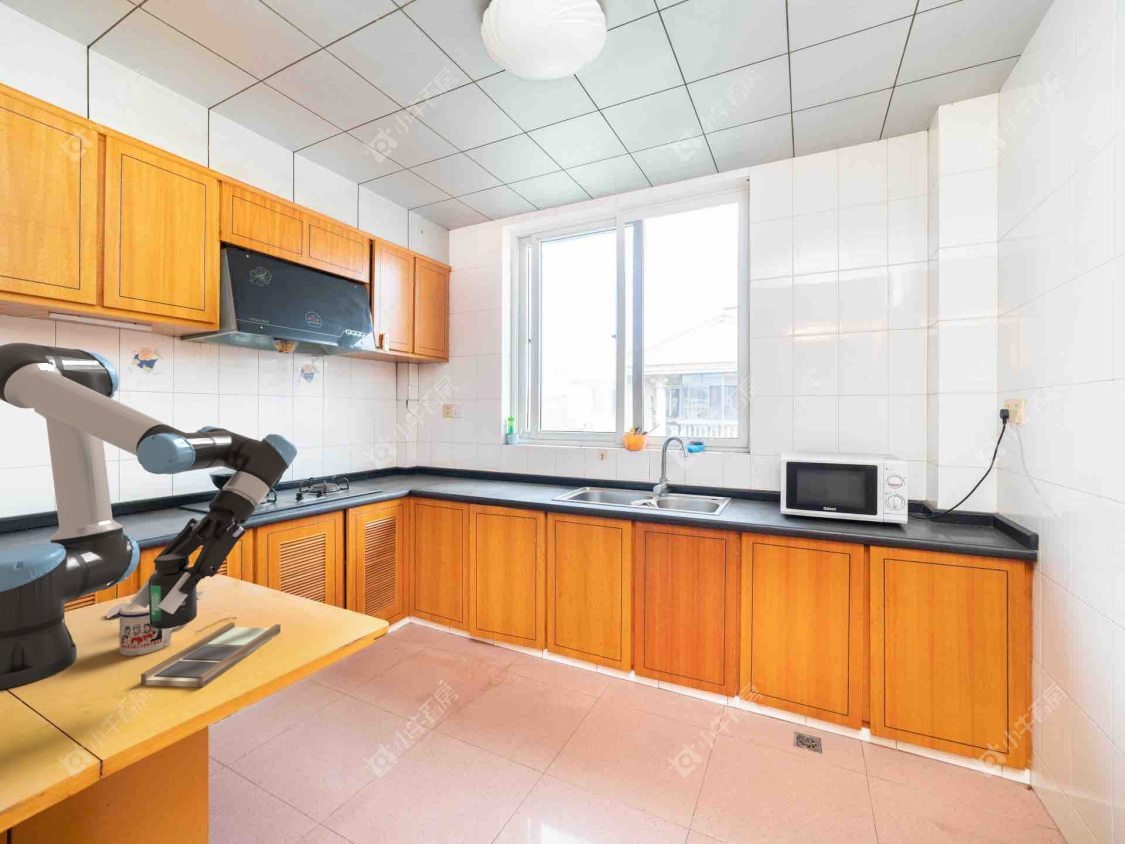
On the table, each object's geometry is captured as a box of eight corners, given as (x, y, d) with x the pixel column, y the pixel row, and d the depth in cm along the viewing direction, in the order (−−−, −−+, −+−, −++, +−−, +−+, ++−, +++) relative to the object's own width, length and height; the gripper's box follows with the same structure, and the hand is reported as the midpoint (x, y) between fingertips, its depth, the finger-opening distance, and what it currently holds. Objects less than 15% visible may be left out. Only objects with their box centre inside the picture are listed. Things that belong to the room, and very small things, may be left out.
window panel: (141, 684, 92) (141, 674, 92) (230, 631, 115) (230, 622, 115) (203, 687, 91) (203, 676, 91) (280, 632, 114) (280, 624, 114)
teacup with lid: (111, 660, 101) (111, 603, 100) (125, 642, 109) (125, 589, 109) (184, 648, 106) (184, 594, 106) (192, 632, 114) (193, 581, 114)
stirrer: (201, 582, 137) (205, 586, 134) (202, 594, 138) (206, 599, 134) (103, 605, 123) (105, 611, 120) (104, 619, 123) (106, 625, 120)
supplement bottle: (153, 633, 86) (151, 565, 85) (146, 622, 90) (144, 557, 90) (201, 620, 91) (199, 556, 90) (192, 610, 95) (190, 548, 95)
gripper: (285, 513, 101) (205, 624, 86) (219, 506, 108) (134, 608, 93) (261, 491, 96) (171, 606, 81) (192, 485, 103) (98, 590, 88)
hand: (151, 607), depth 87 cm, fingers closed on supplement bottle, 7 cm apart
